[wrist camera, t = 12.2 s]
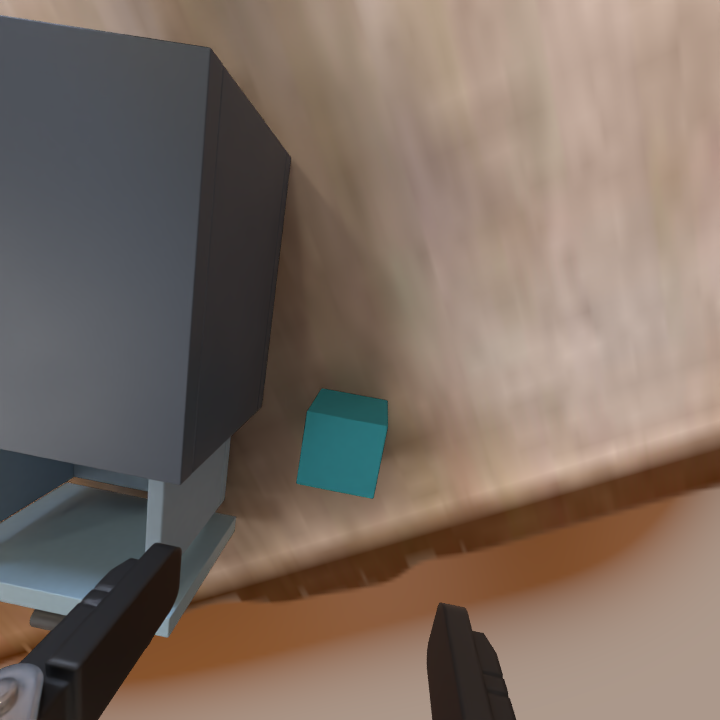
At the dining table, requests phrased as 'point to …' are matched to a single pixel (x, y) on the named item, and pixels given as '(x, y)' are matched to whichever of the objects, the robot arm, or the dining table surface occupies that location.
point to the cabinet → (131, 249)
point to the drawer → (102, 530)
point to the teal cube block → (343, 443)
